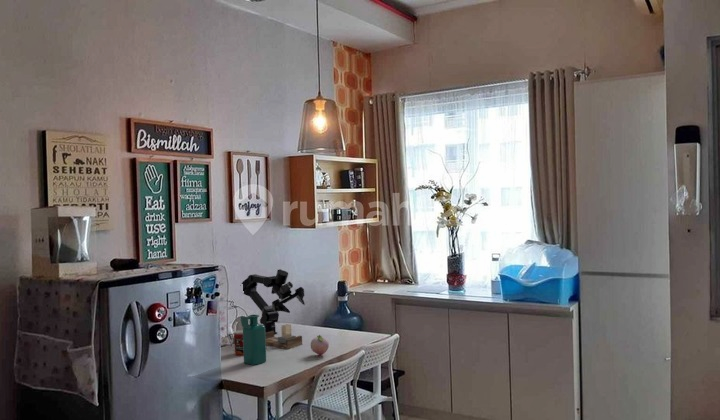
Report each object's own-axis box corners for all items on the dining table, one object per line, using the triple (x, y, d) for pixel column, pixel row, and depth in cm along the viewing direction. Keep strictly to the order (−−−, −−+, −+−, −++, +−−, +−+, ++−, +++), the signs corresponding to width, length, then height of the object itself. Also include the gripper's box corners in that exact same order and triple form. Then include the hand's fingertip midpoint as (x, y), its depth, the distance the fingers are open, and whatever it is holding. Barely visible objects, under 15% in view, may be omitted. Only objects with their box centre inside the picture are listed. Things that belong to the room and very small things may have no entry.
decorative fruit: (308, 354, 285) (307, 333, 285) (324, 352, 288) (324, 331, 288) (314, 359, 276) (313, 337, 276) (330, 356, 279) (330, 335, 279)
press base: (258, 343, 310) (258, 334, 310) (272, 339, 318) (272, 331, 318) (288, 349, 296) (288, 340, 296) (302, 344, 304) (301, 335, 304)
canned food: (231, 354, 289) (230, 332, 288) (242, 350, 296) (241, 328, 296) (244, 356, 285) (243, 333, 285) (254, 352, 292) (253, 330, 292)
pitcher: (256, 358, 280) (254, 312, 280) (268, 361, 275) (266, 314, 274) (239, 363, 273) (238, 315, 272) (251, 366, 267) (250, 317, 267)
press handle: (277, 342, 303) (277, 325, 303) (287, 339, 309) (287, 323, 308) (286, 343, 299) (285, 327, 299) (295, 340, 305) (295, 324, 305)
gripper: (264, 288, 312) (280, 305, 302) (294, 273, 321) (310, 289, 311) (266, 303, 319) (282, 320, 309) (296, 287, 328) (312, 304, 318)
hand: (297, 308), depth 312 cm, fingers open, 9 cm apart
